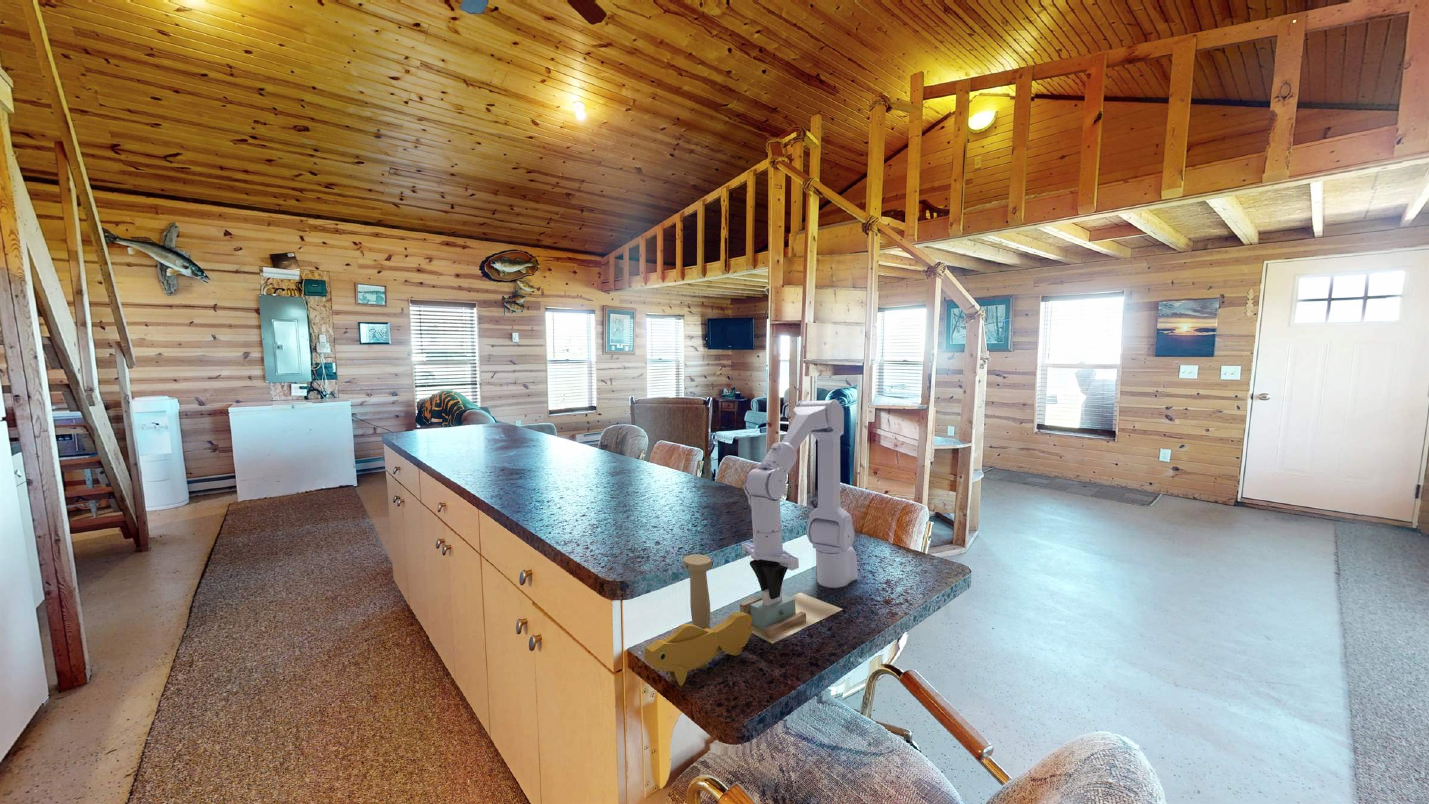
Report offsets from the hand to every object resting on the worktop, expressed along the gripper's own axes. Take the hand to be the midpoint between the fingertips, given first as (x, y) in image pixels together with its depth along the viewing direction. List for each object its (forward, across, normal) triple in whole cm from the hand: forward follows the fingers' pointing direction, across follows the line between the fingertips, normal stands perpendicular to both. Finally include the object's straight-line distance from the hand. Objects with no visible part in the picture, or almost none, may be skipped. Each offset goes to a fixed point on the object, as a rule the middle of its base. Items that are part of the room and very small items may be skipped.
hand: (771, 596), depth 104 cm
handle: (+6, -8, -12) cm, 16 cm away
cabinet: (+5, 0, 0) cm, 5 cm away
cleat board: (+6, 0, +4) cm, 7 cm away
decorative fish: (+7, +3, -19) cm, 20 cm away
